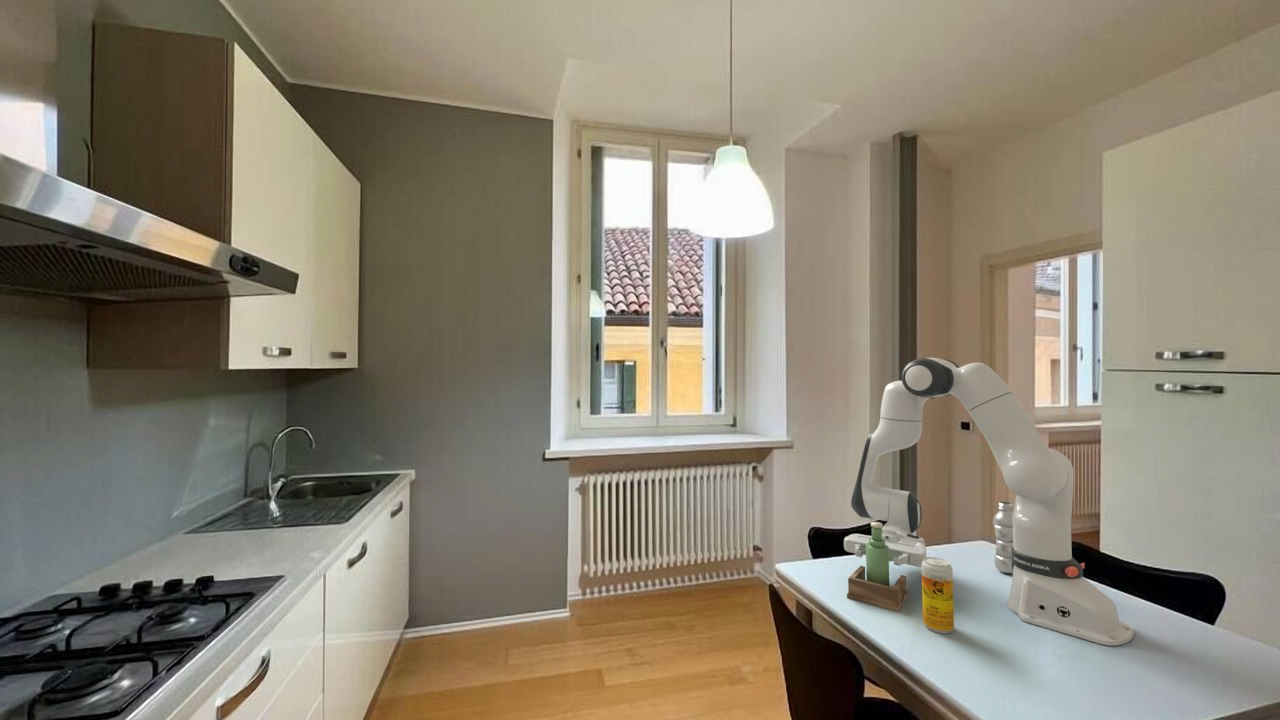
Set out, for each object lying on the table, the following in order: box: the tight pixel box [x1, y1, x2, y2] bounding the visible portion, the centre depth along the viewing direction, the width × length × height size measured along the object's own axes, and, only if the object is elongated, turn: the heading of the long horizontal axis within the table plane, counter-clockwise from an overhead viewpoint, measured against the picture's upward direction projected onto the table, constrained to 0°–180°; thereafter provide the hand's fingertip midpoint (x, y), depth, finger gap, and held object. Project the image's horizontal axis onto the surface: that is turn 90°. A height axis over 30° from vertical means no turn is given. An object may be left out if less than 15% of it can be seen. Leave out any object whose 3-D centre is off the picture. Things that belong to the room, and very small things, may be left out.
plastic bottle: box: [992, 501, 1015, 575], centre depth 144 cm, size 6×7×20 cm
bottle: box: [865, 521, 891, 586], centre depth 130 cm, size 5×5×18 cm
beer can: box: [921, 556, 955, 634], centre depth 114 cm, size 6×6×15 cm
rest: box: [846, 565, 910, 612], centre depth 130 cm, size 12×12×5 cm
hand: (876, 557), depth 129 cm, fingers open, 8 cm apart
